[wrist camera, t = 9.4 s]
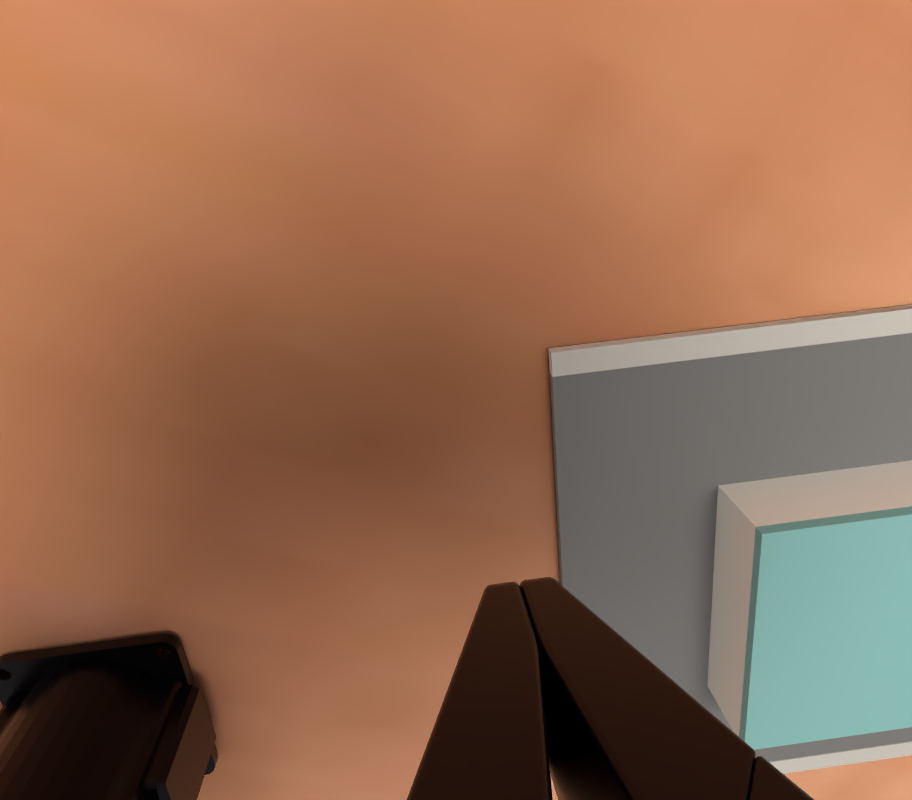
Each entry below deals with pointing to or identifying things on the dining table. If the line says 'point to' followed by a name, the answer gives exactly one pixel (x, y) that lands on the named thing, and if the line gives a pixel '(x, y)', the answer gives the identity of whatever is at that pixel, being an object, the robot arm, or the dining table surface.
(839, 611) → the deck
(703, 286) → the dining table surface
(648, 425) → the mat
